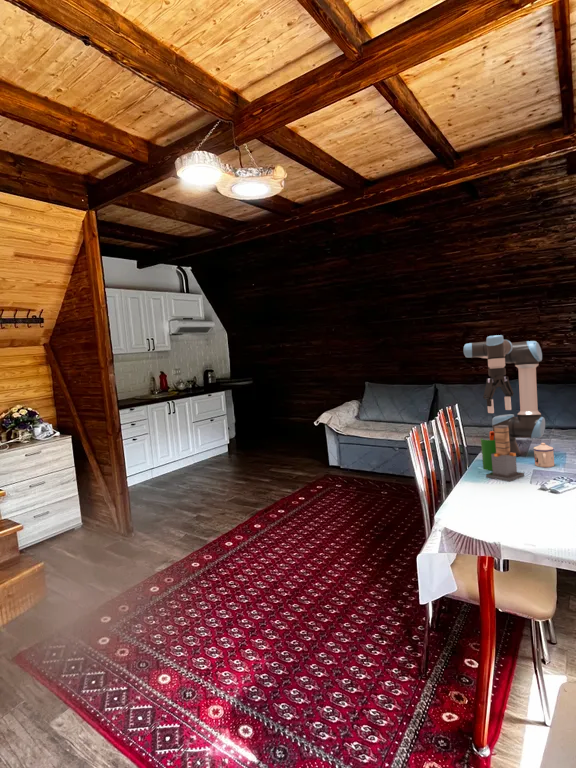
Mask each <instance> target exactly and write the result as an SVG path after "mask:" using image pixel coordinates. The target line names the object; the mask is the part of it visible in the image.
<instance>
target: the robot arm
mask: <svg viewBox="0 0 576 768" xmlns="http://www.w3.org/2000/svg"><path fill="white" fill-rule="evenodd" d="M463 355H464V356H465V358H471V359H473V358H481V359H487V366H488V367H487V368H488V376H489V377H490V378H486V379H485V380H486V382H485V383H486V384H485V386H484V393H483V397H482V399H484V400H486V406H487V413H488V414H494V413H495V408H494V398H493V397H494V395H495V393H496V390H497V389H498V388H500V389H501V391H502V393H503V394H504V408H505V409H504V410H505V411H512V398H511V397H514V390H513V387H512V386H511V383H510V379H509V376H507V375H506V374H507V371H506V364H514V367H516V368H517V370H518V385H519V389H518V390H519V407H520V408H519V409H520V411H518V413H517V416H515V414H511V413H509V414H500V415H496V416H494V417H493V418H492V420H491V421H492V423H491V424H492V425H491V426H492V431H495V430H494V426H498V425H506V426H508V429H509V441H510V452H513V453H516V457H519V456H521V449H520V448H519V446H518V443H517V438H525V439H540V438H542V437H543V436H544V433H545V430H546V418H545V417H543V416H542V413H541V412H540V411H539V409H538V407H539V406H538V390H537V389H538V388H537V386H538V385H537V367H539V362H542V360H543V352H542V348H541V346H540V343H539V342H537V341H536V340H530V341H529V340H526V341H518V342H511V341H510V340H509V339H504V335H502V334H500V335H499V334H498V335H497V334H496V335H489V336H488V335H487V337H486V340H485V341H479V342H469V343H465V344H464V346H463ZM494 440H495V433H494Z"/></svg>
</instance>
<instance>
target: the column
mask: <svg viewBox="0 0 576 768" xmlns="http://www.w3.org/2000/svg"><path fill="white" fill-rule="evenodd" d="M494 430H495V431H494V433H495V443H496V453H500V454H501V455H507V454H510V441H509V429H508V426H506V425H498V426H494Z"/></svg>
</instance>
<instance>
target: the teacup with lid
mask: <svg viewBox="0 0 576 768" xmlns="http://www.w3.org/2000/svg"><path fill="white" fill-rule="evenodd" d="M554 450H555V449H554V447H553V446H549V445H548V444H546V443H545V442H541V443H540V444H538V445H537V446H534V447H533V454H534V455H533V456H534V465H535V466H536V467H539V468H551V467H553V468H554V466H555V456H554Z"/></svg>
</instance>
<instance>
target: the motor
mask: <svg viewBox="0 0 576 768" xmlns="http://www.w3.org/2000/svg"><path fill="white" fill-rule="evenodd" d="M480 445H481V458H482V469H483V470H486V471H490V472H493V470H492V457H491V454H492V453H496V443H495V440H494V431H493V430H492V431H491V430H490V431H489V439H483V437H482V438H480Z"/></svg>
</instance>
